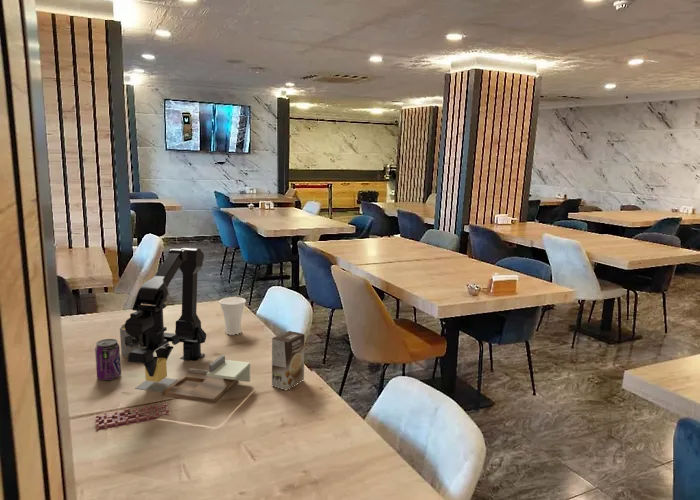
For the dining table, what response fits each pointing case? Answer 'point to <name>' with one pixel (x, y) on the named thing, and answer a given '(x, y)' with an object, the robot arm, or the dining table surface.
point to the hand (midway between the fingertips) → (156, 373)
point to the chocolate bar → (128, 417)
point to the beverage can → (107, 359)
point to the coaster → (156, 385)
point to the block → (158, 371)
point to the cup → (232, 314)
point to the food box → (287, 359)
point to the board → (199, 386)
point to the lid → (229, 369)
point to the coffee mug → (125, 349)
